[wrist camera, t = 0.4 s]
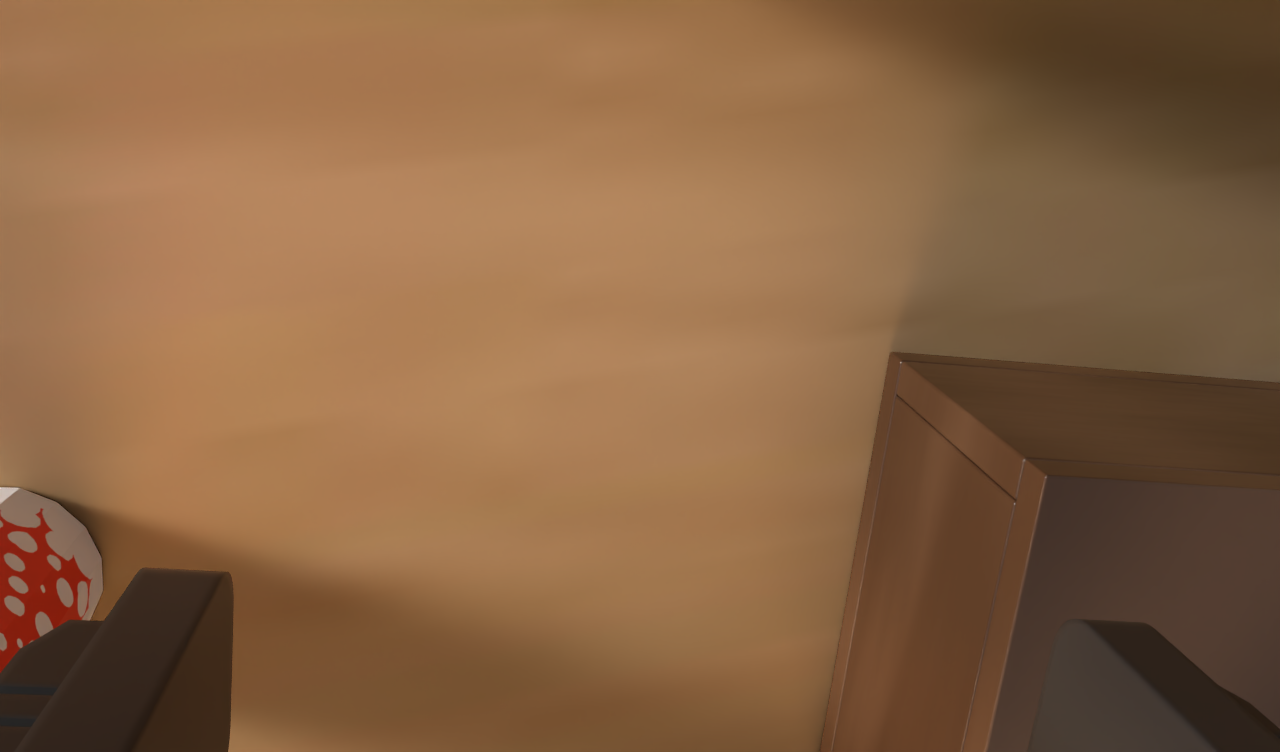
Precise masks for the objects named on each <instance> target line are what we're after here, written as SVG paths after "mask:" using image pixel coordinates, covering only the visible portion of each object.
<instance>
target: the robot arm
mask: <svg viewBox="0 0 1280 752" xmlns="http://www.w3.org/2000/svg"><path fill="white" fill-rule="evenodd" d="M233 599H234V595H233V582H232V578H231V575H230V573H229V572H217V571H198V570H179V569H160V568H142V569H140V570H139V571H138V573H137V574H136V575H135V577H134V578H133V580H132V581H131V583H130V584H129V585H128V587H127V588H126V590H125V591H124V593H123V594H122V596H121V597H120V599H119V600H118V601H117V603H116V604H115V606H114V607H113V609H112V610H111V612H110V613H109V615H108V616H107V617H106V619H105V620H104V621H89V620H68V621H66V622H65V623H63V624H61V625H60V626H58V627H56V628H54V629H53V630H51V631H49V632H48V633H46V634H44V635H43V636H41V637H39V638H37V639H36V640H34V641H32V642H31V643H29V644H27V645H26V646H24V647H22V648H20V649H19V650H18V652H17V653H16V654H15V655H14V657H13V658H12V659H11V660H10V662H9V663H8V664H7V665H6V667H5V668H4V669H3V670H2V672H1V673H0V752H228V747H229V738H230V722H231V682H232V643H233ZM1027 752H1280V729H1279V728H1278V727H1277V726H1276V725H1275V724H1274V723H1272V722H1271V721H1270V720H1269V719H1268V718H1267V717H1266V716H1264V715H1263V714H1262V713H1261V712H1260V711H1259V710H1258V709H1256V708H1255V707H1254V706H1253V705H1252V704H1251V703H1249V702H1247V701H1246V700H1244V699H1242V698H1240V697H1238V696H1237V695H1235V694H1233V693H1231V692H1230V691H1228V690H1226V689H1224V688H1223V687H1221V686H1219V685H1218V684H1217V683H1216V682H1214V681H1213V680H1212V679H1211V678H1210V677H1209V676H1208V675H1207V674H1205V673H1204V672H1203V671H1202V670H1201V669H1200V668H1199V667H1197V666H1196V665H1195V664H1194V663H1193V662H1192V661H1191V660H1190V659H1188V658H1187V657H1186V656H1185V655H1184V654H1183V653H1182V652H1181V651H1179V650H1178V649H1177V648H1176V647H1175V646H1174V645H1173V644H1171V643H1170V642H1169V641H1168V640H1167V639H1166V638H1165V637H1164V636H1162V635H1161V634H1160V633H1159V632H1158V631H1157V630H1156V629H1155V628H1153V627H1152V626H1150V625H1149V624H1146V623H1143V622H1127V621H1108V620H1089V619H1070V620H1068V621H1066V622H1065V623H1064V624H1063V625H1062V626H1061V627H1060V628H1059V630H1058V631H1057V633H1056V636H1055V638H1054V641H1053V644H1052V648H1051V652H1050V656H1049V661H1048V665H1047V669H1046V673H1045V677H1044V682H1043V686H1042V690H1041V694H1040V698H1039V703H1038V707H1037V711H1036V715H1035V719H1034V724H1033V728H1032V732H1031V736H1030V740H1029V744H1028V749H1027Z"/></svg>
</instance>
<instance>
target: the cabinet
mask: <svg viewBox="0 0 1280 752" xmlns="http://www.w3.org/2000/svg"><path fill="white" fill-rule="evenodd" d="M1070 619H1089V620H1108V621H1127V622H1143V623H1146V624H1149V625H1150V626H1152V627H1153V628H1155V629H1156V630H1157V631H1158V632H1159V633H1160V634H1161V635H1162V636H1164V637H1165V638H1166V639H1167V640H1168V641H1169V642H1170V643H1171V644H1173V645H1174V646H1175V647H1176V648H1177V649H1178V650H1179V651H1181V652H1182V653H1183V654H1184V655H1185V656H1186V657H1187V658H1188V659H1190V660H1191V661H1192V662H1193V663H1194V664H1195V665H1196V666H1197V667H1199V668H1200V669H1201V670H1202V671H1203V672H1204V673H1205V674H1207V675H1208V676H1209V677H1210V678H1211V679H1212V680H1213V681H1214V682H1216V683H1217V684H1218V685H1219V686H1221V687H1223V688H1224V689H1226V690H1228V691H1230V692H1231V693H1233V694H1235V695H1237V696H1238V697H1240V698H1242V699H1244V700H1246V701H1247V702H1249V703H1251V704H1252V705H1253V706H1254V707H1255V708H1256V709H1258V710H1259V711H1260V712H1261V713H1262V714H1263V715H1264V716H1266V717H1267V718H1268V719H1269V720H1270V721H1271V722H1272V723H1274V724H1275V725H1276V726H1277V727H1278V728H1279V729H1280V383H1275V382H1262V381H1250V380H1237V379H1225V378H1212V377H1200V376H1187V375H1175V374H1162V373H1149V372H1137V371H1124V370H1112V369H1099V368H1087V367H1074V366H1062V365H1049V364H1037V363H1024V362H1012V361H999V360H987V359H974V358H962V357H949V356H936V355H924V354H911V353H899V352H891V353H890V356H889V362H888V367H887V373H886V379H885V384H884V390H883V396H882V402H881V407H880V413H879V419H878V424H877V430H876V436H875V441H874V447H873V453H872V458H871V464H870V470H869V476H868V481H867V487H866V493H865V498H864V504H863V510H862V515H861V521H860V527H859V532H858V538H857V544H856V550H855V555H854V561H853V567H852V572H851V578H850V584H849V589H848V595H847V601H846V607H845V612H844V618H843V624H842V629H841V635H840V641H839V646H838V652H837V658H836V663H835V669H834V675H833V681H832V686H831V692H830V698H829V703H828V709H827V715H826V720H825V726H824V732H823V737H822V743H821V749H820V752H1027V749H1028V744H1029V740H1030V736H1031V732H1032V728H1033V724H1034V719H1035V715H1036V711H1037V707H1038V703H1039V698H1040V694H1041V690H1042V686H1043V682H1044V677H1045V673H1046V669H1047V665H1048V661H1049V656H1050V652H1051V648H1052V644H1053V641H1054V638H1055V636H1056V633H1057V631H1058V630H1059V628H1060V627H1061V626H1062V625H1063V624H1064V623H1065V622H1066V621H1068V620H1070Z"/></svg>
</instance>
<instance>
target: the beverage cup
mask: <svg viewBox="0 0 1280 752" xmlns="http://www.w3.org/2000/svg"><path fill="white" fill-rule="evenodd" d="M102 592H103V577H102V558H101V556H100V554H99V552H98V550H97V548H96V546H95V544H94V542H93V540H92V538H91V537H90V535H89V533H88V531H87V529H86V527H85V526H84V525H83V524H82V523H80V522H79V521H78V520H77V519H76V518H75V517H73V516H72V515H71V514H70V513H69V512H68V511H66V510H65V509H64V508H63V507H62V506H61V505H60V504H58V503H57V502H55V501H52V500H50V499H47V498H45V497H42V496H40V495H37V494H34V493H32V492H29V491H27V490H24V489H21V488H7V487H0V673H1V672H2V670H3V669H4V668H5V667H6V665H7V664H8V663H9V662H10V660H11V659H12V658H13V657H14V655H15V654H16V653H17V652H18V650H19V649H20V648H22V647H24V646H26V645H27V644H29V643H31V642H32V641H34V640H36V639H37V638H39V637H41V636H43V635H44V634H46V633H48V632H49V631H51V630H53V629H54V628H56V627H58V626H60V625H61V624H63V623H65V622H66V621H68V620H89V621H90V620H91V617H92V615H93V613H94V610H95V608H96V606H97V604H98V601H99V599H100V597H101V594H102Z"/></svg>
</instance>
